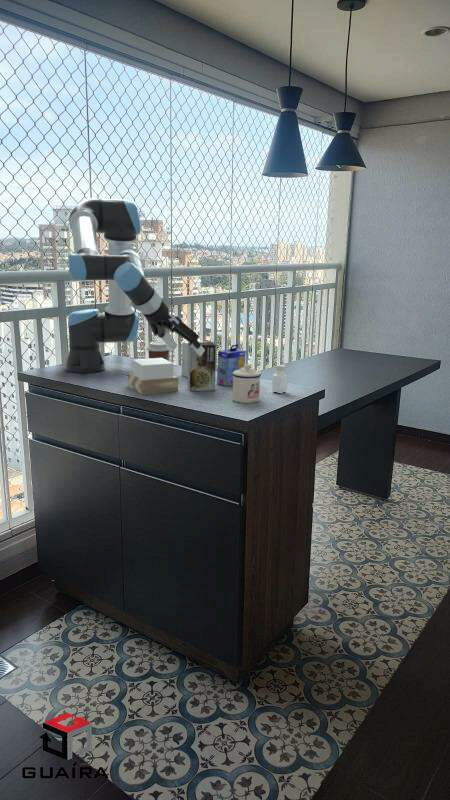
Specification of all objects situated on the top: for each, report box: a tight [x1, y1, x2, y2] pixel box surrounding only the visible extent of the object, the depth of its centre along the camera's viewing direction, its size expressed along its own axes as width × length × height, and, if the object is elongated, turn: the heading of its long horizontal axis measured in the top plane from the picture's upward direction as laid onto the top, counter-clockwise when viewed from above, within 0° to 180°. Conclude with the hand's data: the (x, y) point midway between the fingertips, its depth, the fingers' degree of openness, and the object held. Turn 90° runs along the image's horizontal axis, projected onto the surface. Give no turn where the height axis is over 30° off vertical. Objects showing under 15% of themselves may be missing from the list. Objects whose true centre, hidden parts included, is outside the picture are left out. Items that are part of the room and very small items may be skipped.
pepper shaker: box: [271, 364, 288, 394], centre depth 191 cm, size 4×4×10 cm
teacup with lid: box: [232, 363, 262, 404], centre depth 181 cm, size 12×9×12 cm
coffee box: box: [187, 341, 217, 392], centre depth 192 cm, size 9×6×16 cm
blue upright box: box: [216, 344, 247, 387], centre depth 202 cm, size 10×6×14 cm, turn 137°
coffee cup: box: [146, 341, 171, 361], centre depth 215 cm, size 9×9×12 cm
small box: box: [181, 340, 203, 378], centre depth 213 cm, size 8×6×13 cm
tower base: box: [127, 372, 179, 395], centre depth 192 cm, size 13×13×5 cm
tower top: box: [131, 358, 174, 380], centre depth 191 cm, size 11×11×5 cm
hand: (188, 350), depth 185 cm, fingers open, 13 cm apart
